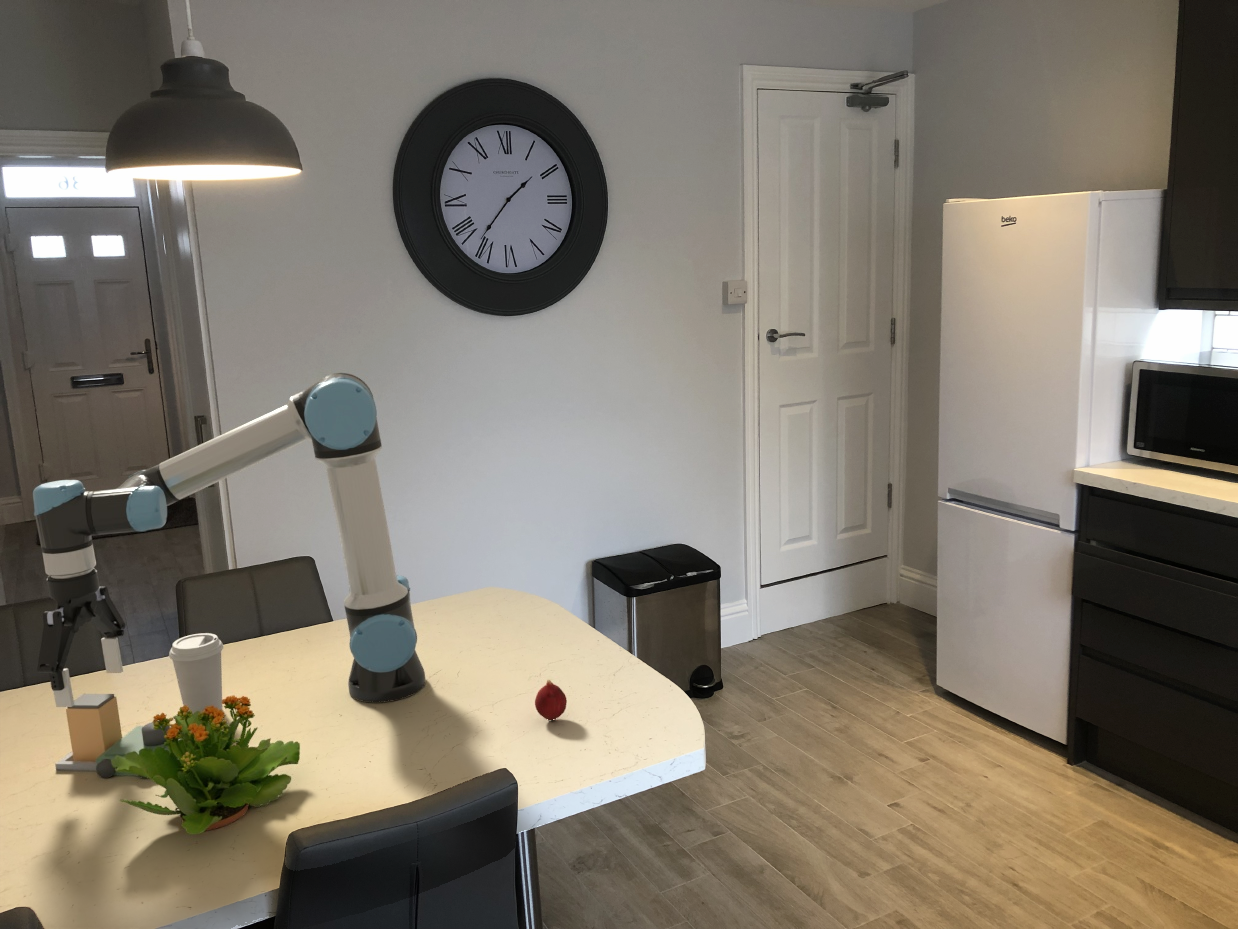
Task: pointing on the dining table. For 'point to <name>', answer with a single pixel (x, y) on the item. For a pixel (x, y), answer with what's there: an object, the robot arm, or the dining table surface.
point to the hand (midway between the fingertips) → (91, 688)
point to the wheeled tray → (118, 751)
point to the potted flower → (211, 766)
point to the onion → (550, 701)
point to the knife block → (93, 725)
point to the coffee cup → (198, 670)
